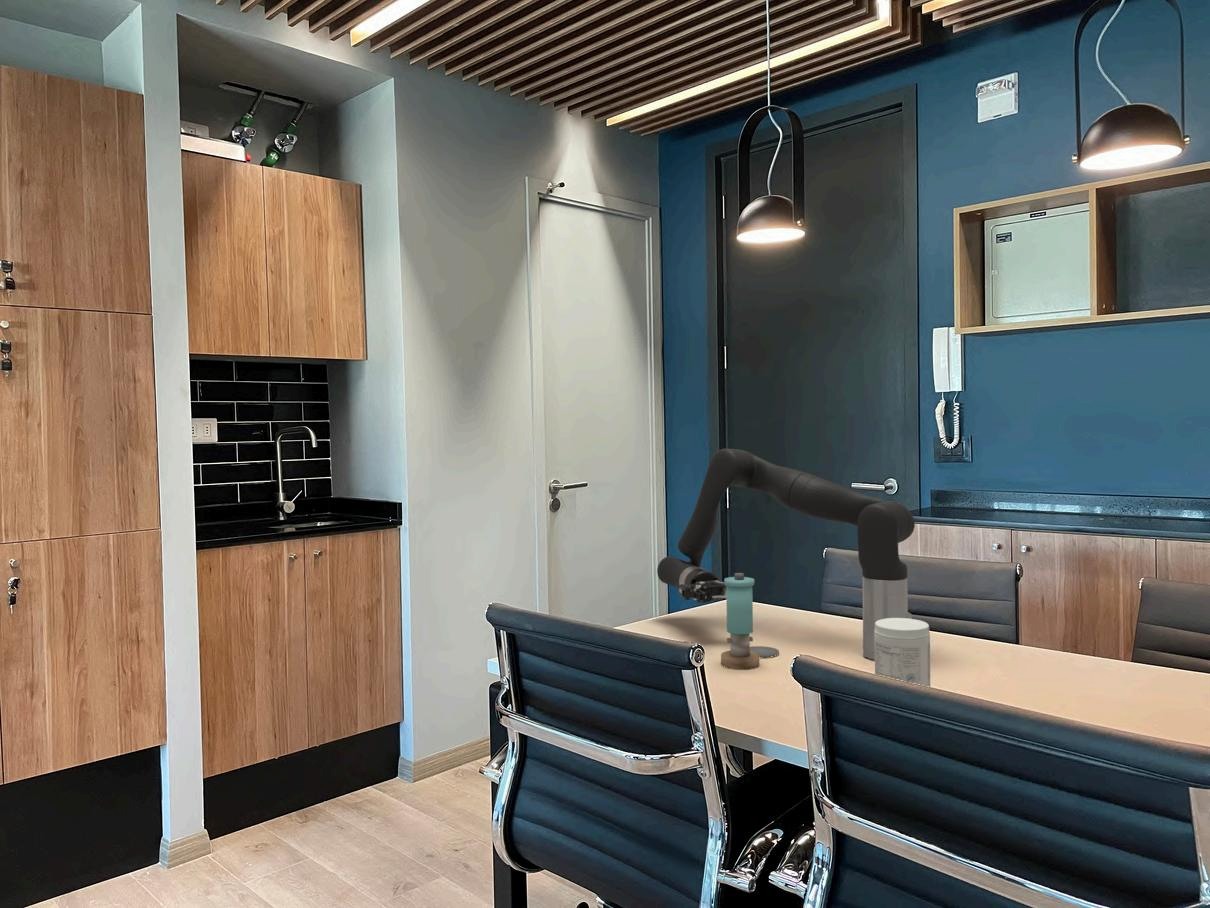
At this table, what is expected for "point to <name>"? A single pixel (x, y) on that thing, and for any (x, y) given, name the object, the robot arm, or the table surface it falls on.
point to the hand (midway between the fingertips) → (722, 596)
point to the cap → (739, 604)
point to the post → (740, 653)
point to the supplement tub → (903, 650)
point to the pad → (764, 651)
